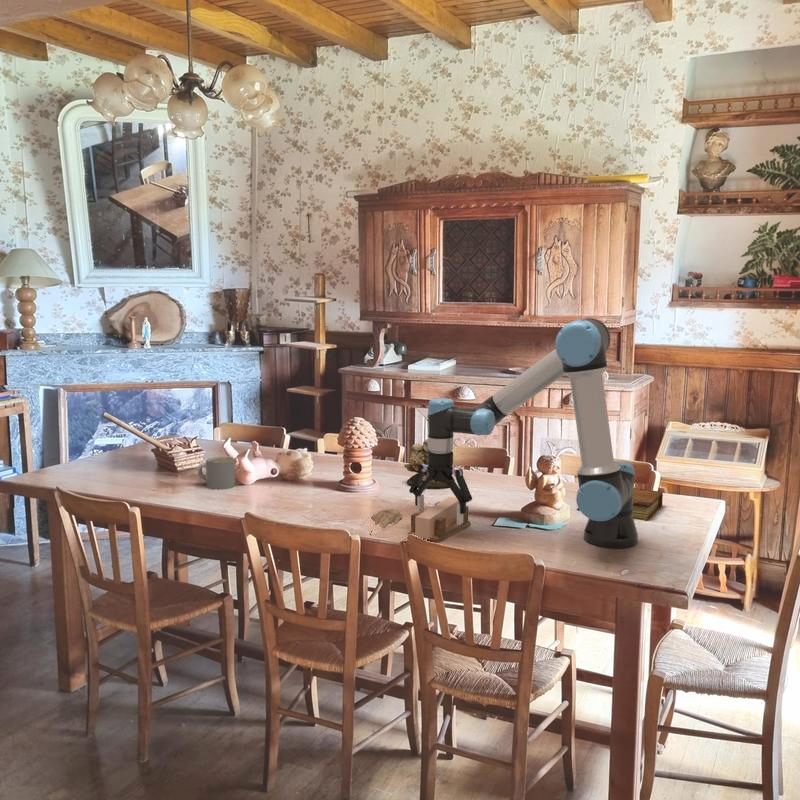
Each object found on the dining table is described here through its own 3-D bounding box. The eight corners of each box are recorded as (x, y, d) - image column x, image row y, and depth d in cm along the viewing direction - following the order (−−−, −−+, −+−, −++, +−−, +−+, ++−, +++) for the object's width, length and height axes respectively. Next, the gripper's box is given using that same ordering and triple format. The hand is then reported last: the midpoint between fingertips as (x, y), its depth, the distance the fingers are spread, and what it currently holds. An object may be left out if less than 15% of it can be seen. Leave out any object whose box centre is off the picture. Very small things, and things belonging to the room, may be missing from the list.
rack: (470, 524, 257) (470, 505, 256) (437, 542, 240) (437, 521, 239) (442, 519, 262) (442, 500, 261) (408, 536, 245) (408, 516, 244)
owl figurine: (400, 487, 300) (400, 441, 298) (408, 479, 311) (408, 434, 309) (449, 490, 296) (450, 443, 293) (456, 482, 307) (456, 436, 304)
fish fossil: (386, 537, 246) (386, 533, 246) (353, 538, 248) (353, 534, 248) (403, 511, 271) (403, 507, 270) (373, 511, 273) (373, 508, 273)
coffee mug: (240, 483, 305) (239, 457, 303) (225, 490, 296) (224, 463, 294) (209, 480, 310) (208, 454, 308) (193, 487, 300) (192, 460, 299)
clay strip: (462, 517, 260) (462, 498, 259) (429, 539, 239) (429, 519, 238) (448, 515, 262) (448, 496, 261) (415, 537, 241) (415, 517, 240)
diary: (662, 508, 276) (663, 491, 276) (647, 523, 261) (649, 505, 260) (593, 497, 288) (594, 481, 287) (576, 511, 272) (577, 494, 271)
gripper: (484, 453, 244) (483, 523, 247) (411, 443, 257) (411, 510, 260) (472, 458, 237) (471, 530, 241) (398, 448, 251) (398, 516, 254)
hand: (440, 520), depth 251 cm, fingers open, 13 cm apart
